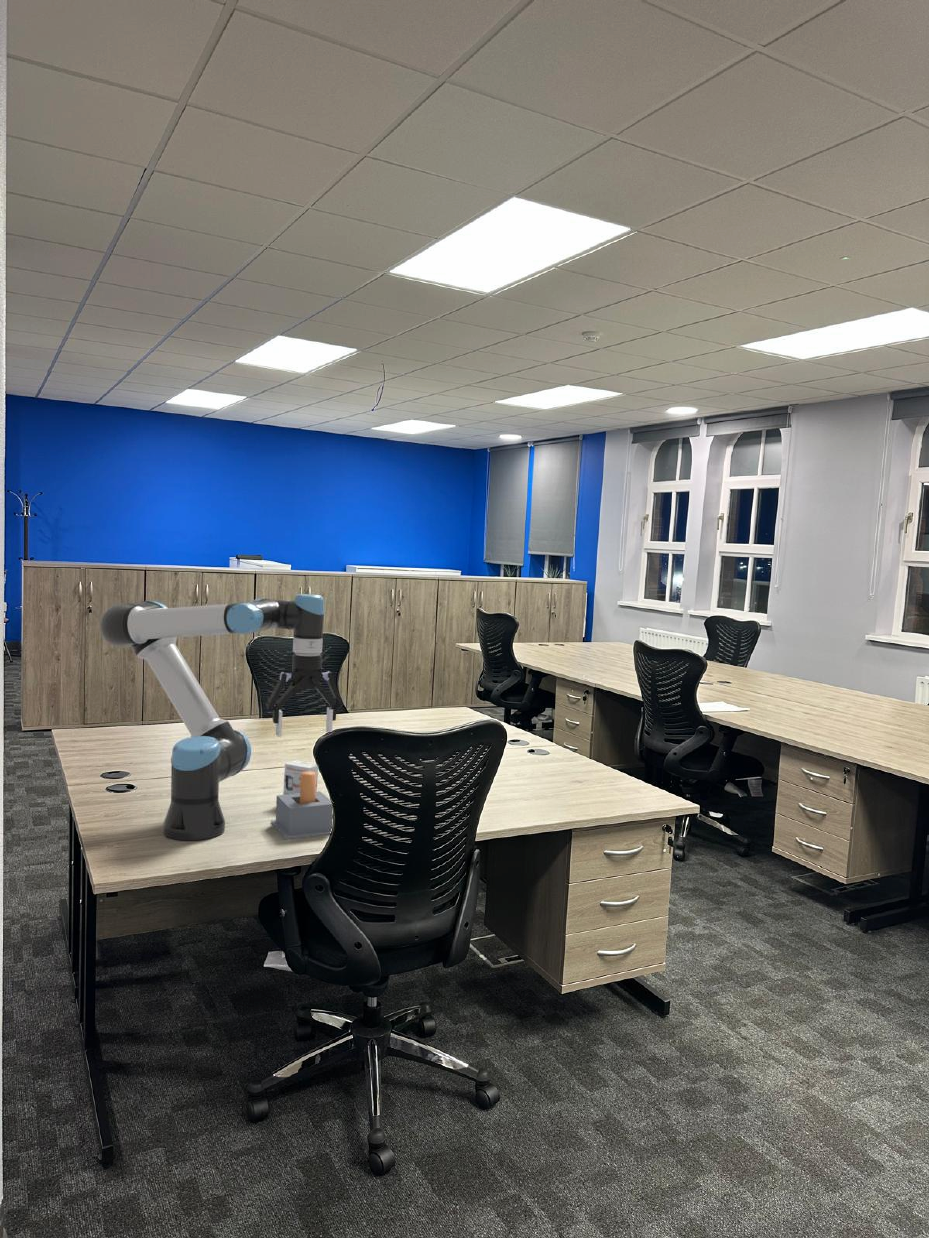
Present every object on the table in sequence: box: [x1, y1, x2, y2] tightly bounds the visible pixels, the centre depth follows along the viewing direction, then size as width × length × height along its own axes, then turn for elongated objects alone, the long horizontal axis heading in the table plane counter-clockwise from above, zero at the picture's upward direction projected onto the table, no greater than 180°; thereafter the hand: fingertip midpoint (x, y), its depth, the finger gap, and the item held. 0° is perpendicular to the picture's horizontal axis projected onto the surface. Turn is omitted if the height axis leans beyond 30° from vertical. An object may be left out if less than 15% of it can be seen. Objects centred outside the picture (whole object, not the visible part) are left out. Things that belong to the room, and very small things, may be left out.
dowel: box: [300, 771, 316, 804], centre depth 231 cm, size 4×4×14 cm
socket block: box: [270, 790, 333, 840], centre depth 231 cm, size 14×14×8 cm
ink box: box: [282, 759, 319, 795], centre depth 251 cm, size 9×5×12 cm, turn 66°
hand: (304, 734), depth 230 cm, fingers open, 13 cm apart
